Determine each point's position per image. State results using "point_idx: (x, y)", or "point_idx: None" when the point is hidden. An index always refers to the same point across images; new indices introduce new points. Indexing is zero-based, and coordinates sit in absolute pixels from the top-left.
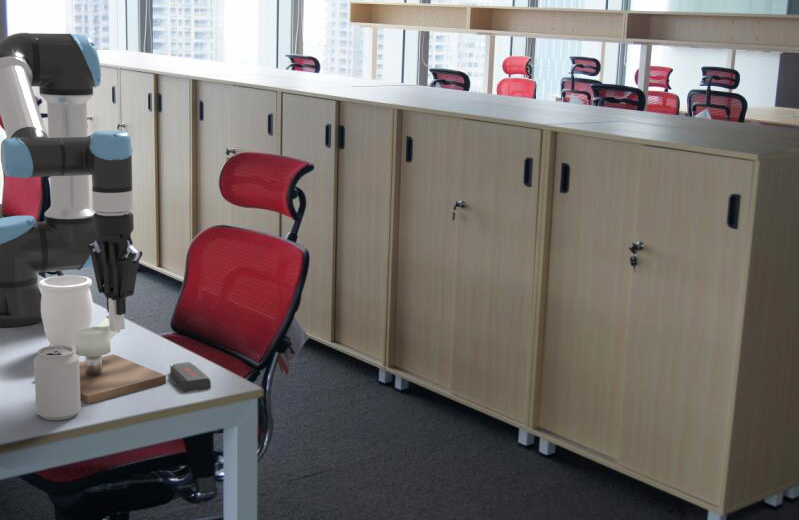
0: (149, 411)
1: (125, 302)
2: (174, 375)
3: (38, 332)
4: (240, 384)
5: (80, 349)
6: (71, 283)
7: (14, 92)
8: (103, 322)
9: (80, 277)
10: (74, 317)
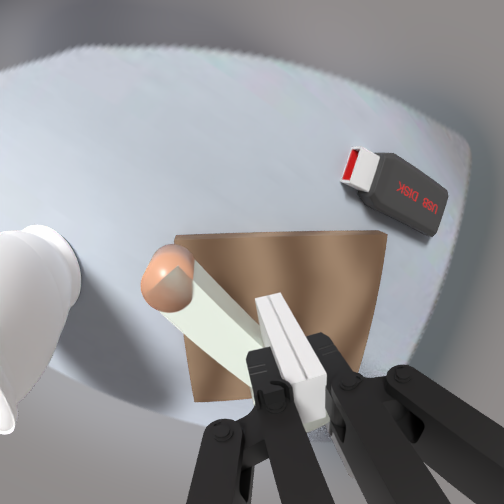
0: (427, 316)
1: (347, 363)
2: (393, 217)
3: None
4: (452, 143)
5: None
6: None
7: None
8: (215, 346)
9: None
10: (52, 333)
